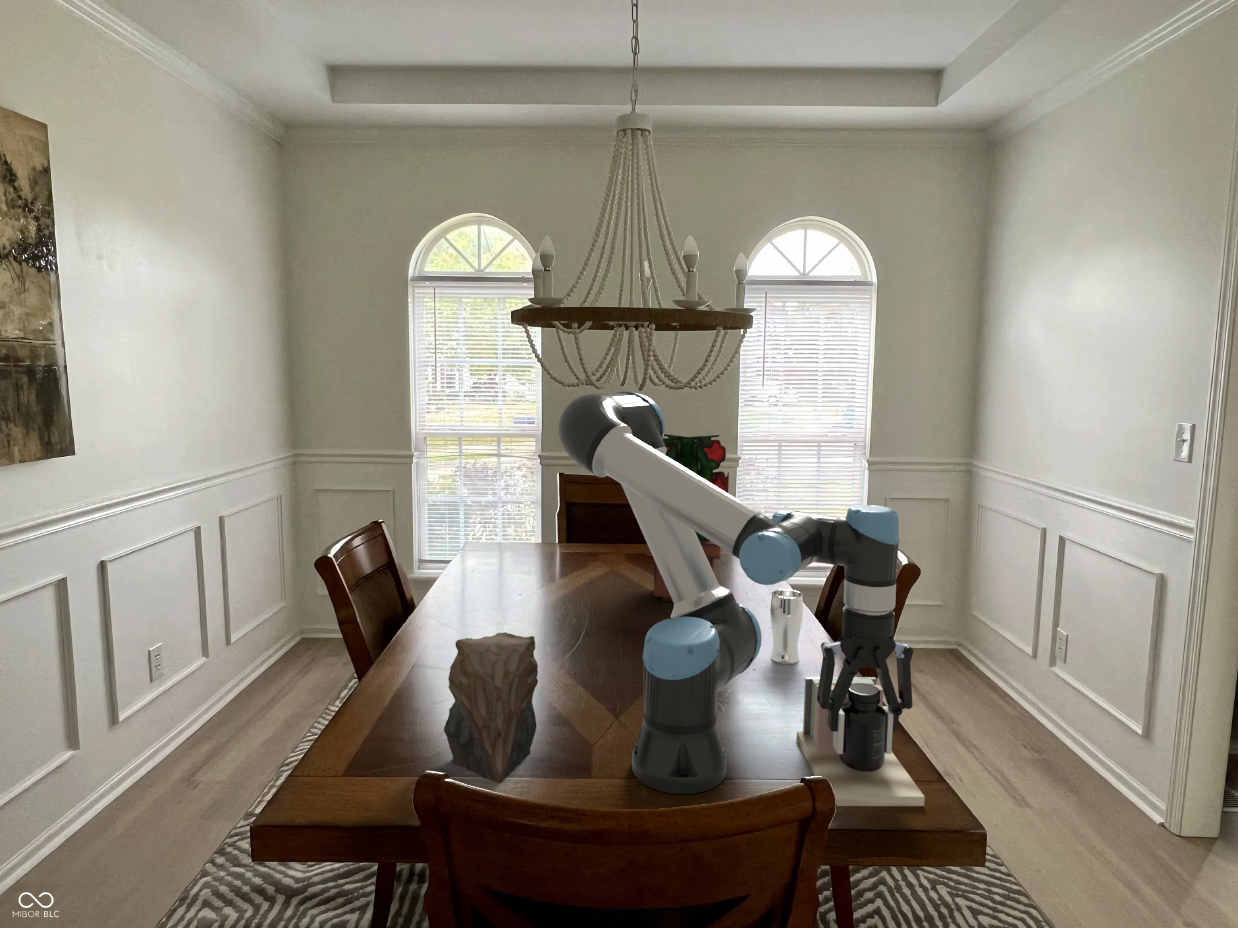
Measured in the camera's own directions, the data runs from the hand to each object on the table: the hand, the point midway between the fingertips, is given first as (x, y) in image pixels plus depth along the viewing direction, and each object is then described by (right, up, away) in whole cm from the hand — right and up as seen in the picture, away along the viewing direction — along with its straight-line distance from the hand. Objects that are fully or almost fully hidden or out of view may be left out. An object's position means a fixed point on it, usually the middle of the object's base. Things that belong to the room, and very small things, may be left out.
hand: (861, 749), depth 118 cm
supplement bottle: (0, -2, 0) cm, 2 cm away
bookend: (0, -2, +12) cm, 12 cm away
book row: (0, -2, +9) cm, 9 cm away
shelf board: (0, -5, +2) cm, 5 cm away
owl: (-59, -4, +5) cm, 59 cm away
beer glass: (-1, +1, +49) cm, 49 cm away
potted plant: (-19, +7, +95) cm, 97 cm away
